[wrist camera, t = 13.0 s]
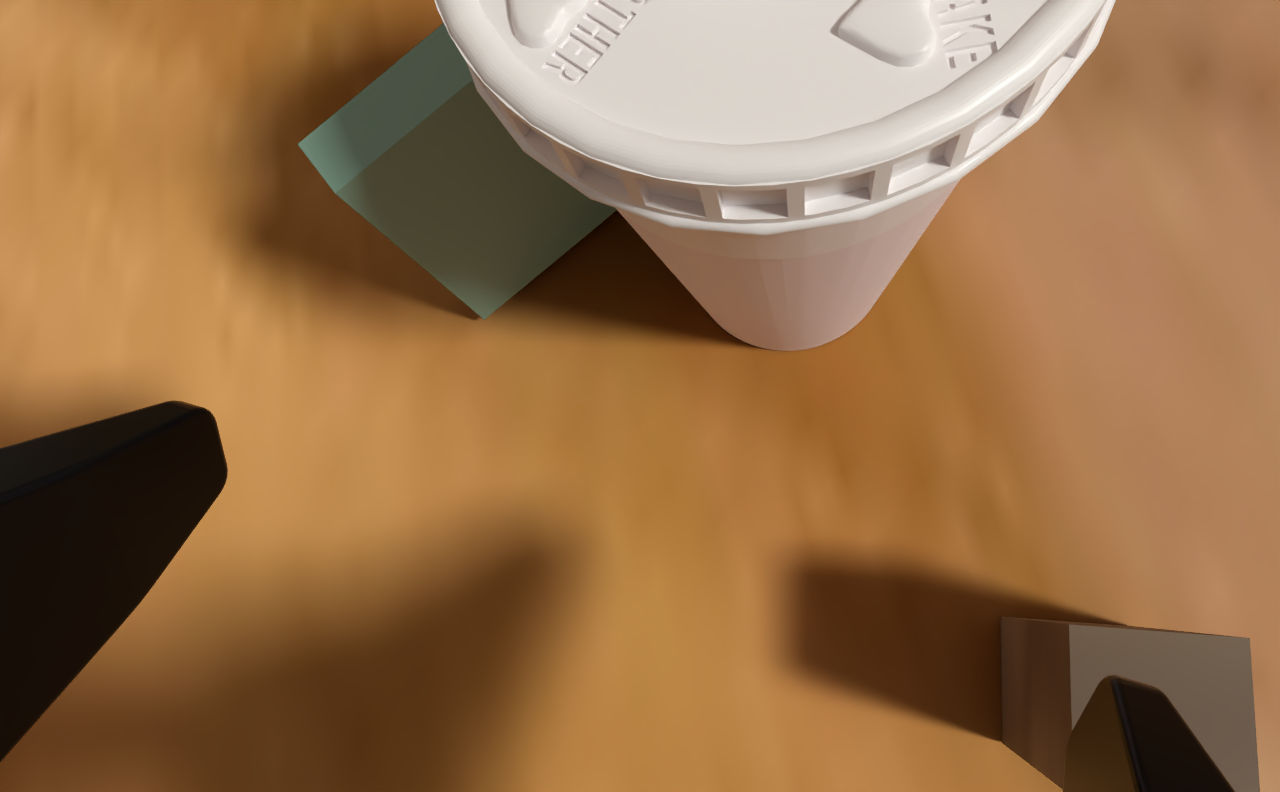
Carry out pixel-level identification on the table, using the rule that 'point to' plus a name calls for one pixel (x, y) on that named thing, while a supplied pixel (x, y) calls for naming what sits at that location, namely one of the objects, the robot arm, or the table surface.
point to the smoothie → (772, 128)
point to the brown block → (1170, 660)
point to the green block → (449, 178)
